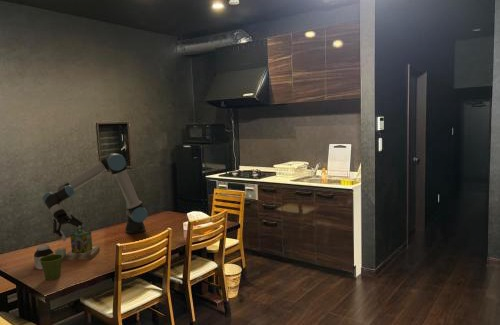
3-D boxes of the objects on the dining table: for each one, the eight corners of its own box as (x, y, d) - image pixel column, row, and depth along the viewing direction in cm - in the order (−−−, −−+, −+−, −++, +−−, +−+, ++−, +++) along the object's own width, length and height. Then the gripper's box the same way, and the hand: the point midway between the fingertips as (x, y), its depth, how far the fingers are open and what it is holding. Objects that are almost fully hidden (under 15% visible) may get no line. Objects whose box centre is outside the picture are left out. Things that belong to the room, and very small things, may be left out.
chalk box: (83, 253, 237) (81, 230, 235) (71, 252, 239) (69, 229, 238) (93, 248, 246) (91, 226, 244) (81, 247, 248) (79, 225, 247)
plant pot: (35, 280, 205) (33, 260, 203) (54, 272, 216) (52, 253, 214) (51, 283, 200) (50, 262, 199) (69, 274, 211) (68, 255, 210)
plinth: (99, 250, 252) (99, 245, 251) (91, 258, 236) (91, 253, 235) (74, 252, 250) (74, 247, 250) (65, 260, 234) (64, 255, 234)
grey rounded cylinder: (68, 256, 241) (67, 247, 241) (64, 260, 235) (63, 250, 235) (58, 257, 241) (57, 248, 240) (54, 260, 235) (53, 251, 234)
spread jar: (50, 261, 234) (48, 243, 233) (58, 265, 227) (57, 246, 226) (29, 267, 225) (27, 248, 224) (37, 271, 218) (35, 252, 216)
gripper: (73, 211, 264) (88, 235, 258) (38, 220, 242) (54, 246, 236) (77, 205, 260) (93, 228, 255) (42, 213, 239) (59, 238, 233)
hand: (74, 237), depth 245 cm, fingers open, 13 cm apart
